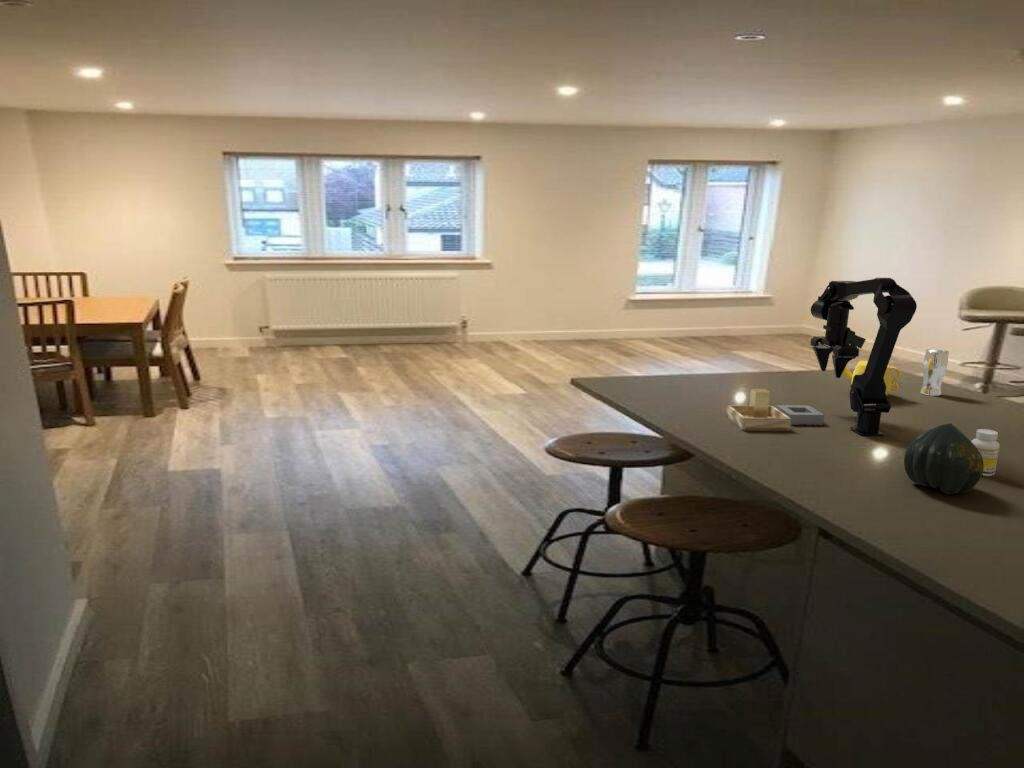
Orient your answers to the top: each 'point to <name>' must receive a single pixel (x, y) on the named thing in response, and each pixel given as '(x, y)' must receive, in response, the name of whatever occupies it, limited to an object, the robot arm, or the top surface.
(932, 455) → the squash
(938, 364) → the beer glass
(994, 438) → the supplement bottle
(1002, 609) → the top surface
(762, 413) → the pin
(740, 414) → the tray
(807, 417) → the frame
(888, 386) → the teapot
